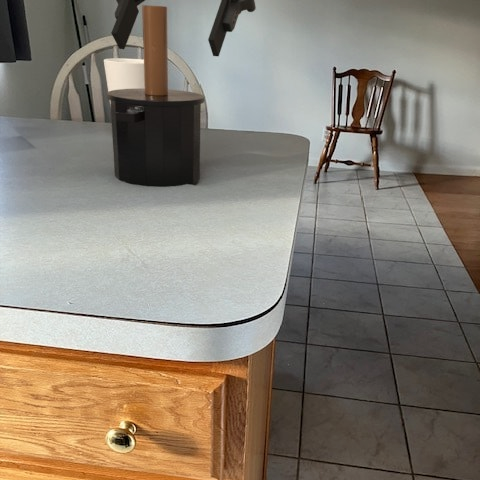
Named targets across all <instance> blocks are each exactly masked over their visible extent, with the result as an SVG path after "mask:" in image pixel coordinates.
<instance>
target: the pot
mask: <svg viewBox="0 0 480 480" xmlns="http://www.w3.org/2000/svg"><path fill="white" fill-rule="evenodd" d="M110 103H111V106H110V119H111V134H112V151H113V166H114V167H113V168H114V177H115V178H116V179H117V180H118V181H120V182H123V183H125V184H129V185H134V186H141V187H150V188H151V187H153V188H154V187H156V188H169V187H180V186H185V185H189V186H190V185H191V186H197V185H198V184H199V182H200V180H201V179H200V177H201V176H200V173H201V172H200V169H201V168H200V167H201V117H202V115H201V109H202V108H201V106H202V103H201V104H198V105H190V106H145V105H133V104H125V103H119V102H115V101H112V100H109V104H110Z"/></svg>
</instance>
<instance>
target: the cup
mask: <svg viewBox="0 0 480 480" xmlns="http://www.w3.org/2000/svg"><path fill="white" fill-rule="evenodd" d="M103 64H104V73H105V79H106V85H107V92H109V91H112V90H119V89H141V88H142V89H145V83H144V58H142V59H141V58H123V57H122V58H121V57H119V58H118V57H117V58H116V57H115V58H113V57H112V58H104V59H103ZM109 106H110V107H111V103H110V102H109Z"/></svg>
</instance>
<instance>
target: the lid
mask: <svg viewBox="0 0 480 480" xmlns="http://www.w3.org/2000/svg"><path fill="white" fill-rule="evenodd" d="M141 13H142V15H141V16H142V45H143V47H142V48H143V50H142V51H143V59H144V83H145V89H142V88H141V89H119V90H112V91H109V92H108V91H107V93H106V98H107V100H109V101H110V100H112V101H115V102H119V103H125V104H133V105H145V106H190V105H198V104H201V105H202V104H204V103H205V101H206V97H205V95H203V94H201V93H198V92H192V91H187V90H179V89H169V66H168V65H169V60H168V54H169V53H168V52H169V51H168V48H169V47H168V7H167V6H164V5H150V4H149V5H148V4H145V5H144V4H143V5H141Z"/></svg>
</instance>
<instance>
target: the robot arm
mask: <svg viewBox="0 0 480 480" xmlns="http://www.w3.org/2000/svg"><path fill="white" fill-rule="evenodd" d="M115 1H116V3H117V6H116V9H115V12H114V18H115V22H114V25H113V27H112V30H111V33H110V34H111V35H112V37H113V40H114V42H115V44H116V46H117V47H118V49H119V50H125V48H126V47H127V44H128V41H129V39H130V35H131V34H132V31H133V28H134V26H135V23H136V20H137V18H138V15H139V13H140V10H139V8H138V6H139V5H141V4H142V3H144V2H145V1H146V0H115ZM255 10H257V6H256V1H255V0H220V4H219V6H218V10H217V12H216V14H215V18H214V21H213V24H212V26H211V30H210V32H209V36H208V39H207V40H208V41H207V42H208V44H209V48H210V50H211V53H212V56H213V57H219V56H220V54H221V50H222V47H223V44H224V42H225V39H226V36H227V33H232V32H233V31H234V30H235V28H236V24H237V21H238V18H239V16H240V15H241V13H242V12H244V11H247V12H248V13H253V12H255Z"/></svg>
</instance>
